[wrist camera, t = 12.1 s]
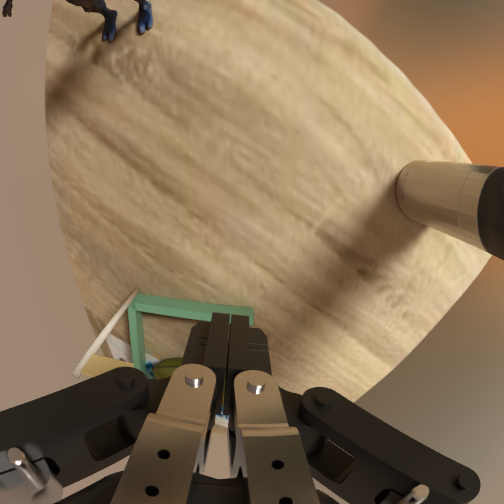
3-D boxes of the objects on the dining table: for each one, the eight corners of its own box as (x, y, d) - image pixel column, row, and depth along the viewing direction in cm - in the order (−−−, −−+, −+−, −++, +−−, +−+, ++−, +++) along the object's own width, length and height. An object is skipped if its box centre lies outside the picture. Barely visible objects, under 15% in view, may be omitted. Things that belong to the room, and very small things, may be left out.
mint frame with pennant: (253, 302, 41) (261, 405, 22) (239, 396, 47) (239, 492, 28) (134, 286, 40) (69, 370, 21) (141, 382, 46) (108, 469, 26)
